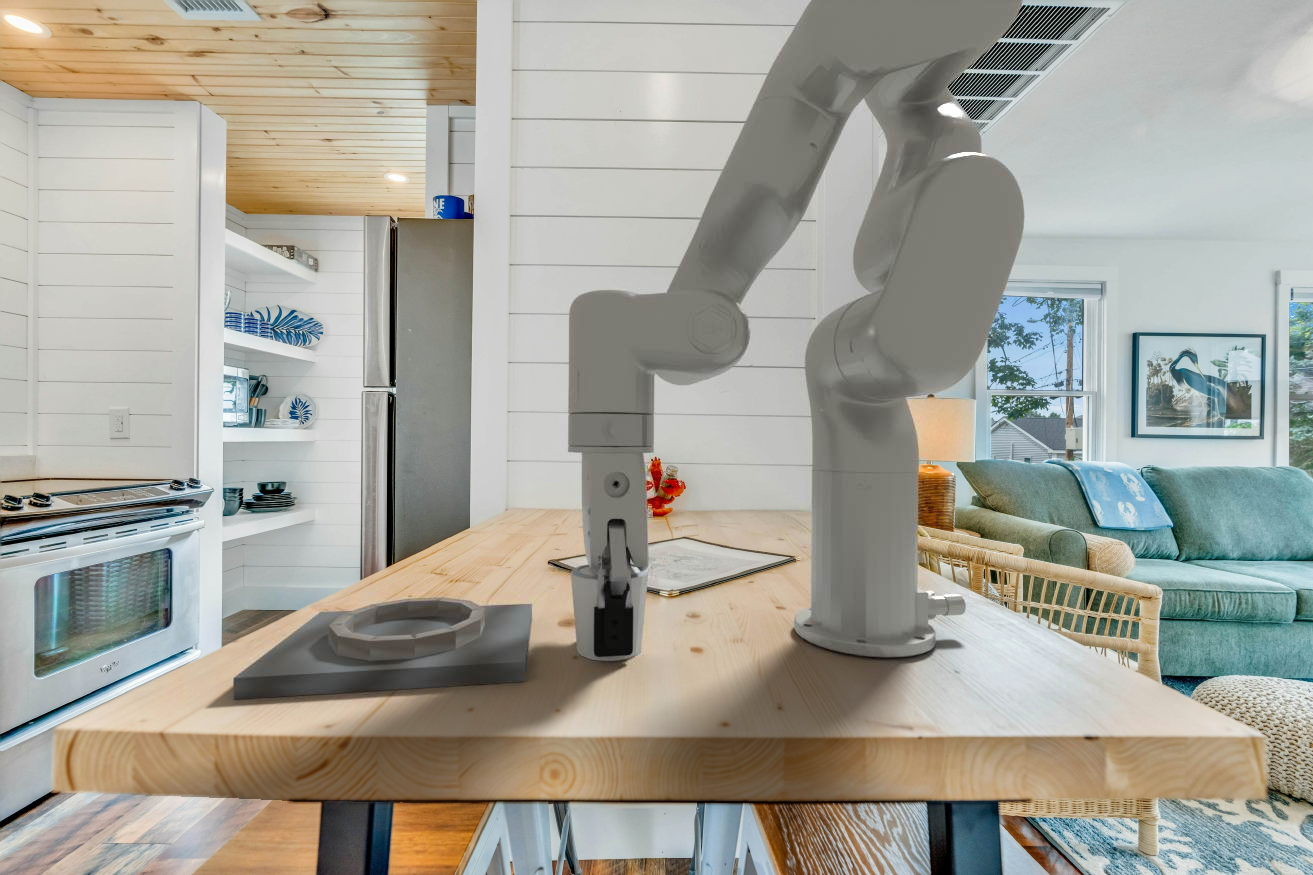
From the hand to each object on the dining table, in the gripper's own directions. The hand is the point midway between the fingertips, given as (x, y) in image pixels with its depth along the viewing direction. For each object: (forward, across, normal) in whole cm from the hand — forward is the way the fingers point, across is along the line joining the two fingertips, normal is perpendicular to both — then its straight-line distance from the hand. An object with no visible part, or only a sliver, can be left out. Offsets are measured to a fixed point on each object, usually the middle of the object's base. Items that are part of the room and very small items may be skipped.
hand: (609, 639), depth 52 cm
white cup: (+1, 0, 0) cm, 1 cm away
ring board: (+1, +2, +17) cm, 17 cm away
